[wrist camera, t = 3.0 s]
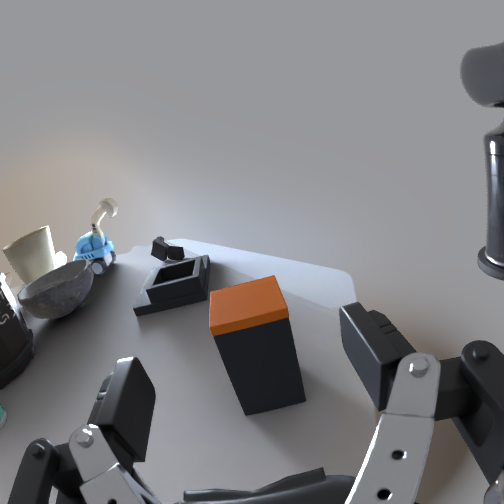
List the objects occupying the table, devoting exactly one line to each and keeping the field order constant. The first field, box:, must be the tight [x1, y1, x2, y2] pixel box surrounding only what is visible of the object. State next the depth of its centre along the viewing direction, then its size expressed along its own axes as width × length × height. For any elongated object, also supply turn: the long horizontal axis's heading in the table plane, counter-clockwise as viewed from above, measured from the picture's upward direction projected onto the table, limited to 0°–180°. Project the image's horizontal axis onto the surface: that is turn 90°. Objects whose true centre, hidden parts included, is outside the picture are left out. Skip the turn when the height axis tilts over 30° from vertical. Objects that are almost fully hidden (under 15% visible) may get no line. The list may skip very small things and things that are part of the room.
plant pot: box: [3, 226, 57, 286], centre depth 67 cm, size 15×15×16 cm
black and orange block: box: [209, 275, 306, 416], centre depth 25 cm, size 6×6×10 cm
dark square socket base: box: [133, 255, 210, 316], centre depth 53 cm, size 12×16×4 cm
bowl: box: [17, 259, 93, 319], centre depth 54 cm, size 18×18×8 cm
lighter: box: [151, 237, 185, 262], centre depth 68 cm, size 8×2×5 cm
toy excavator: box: [73, 198, 118, 276], centre depth 71 cm, size 9×17×17 cm, turn 90°
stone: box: [55, 252, 67, 268], centre depth 88 cm, size 21×12×5 cm, turn 67°
